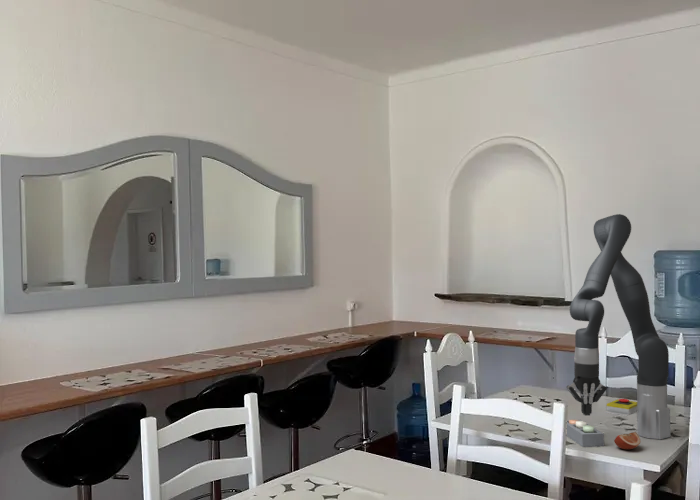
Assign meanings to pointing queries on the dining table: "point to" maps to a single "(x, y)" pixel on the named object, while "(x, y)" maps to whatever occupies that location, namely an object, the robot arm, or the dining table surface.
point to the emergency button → (621, 407)
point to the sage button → (588, 429)
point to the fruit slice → (627, 440)
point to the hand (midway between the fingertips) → (586, 414)
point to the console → (585, 436)
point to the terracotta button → (573, 421)
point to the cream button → (580, 424)
